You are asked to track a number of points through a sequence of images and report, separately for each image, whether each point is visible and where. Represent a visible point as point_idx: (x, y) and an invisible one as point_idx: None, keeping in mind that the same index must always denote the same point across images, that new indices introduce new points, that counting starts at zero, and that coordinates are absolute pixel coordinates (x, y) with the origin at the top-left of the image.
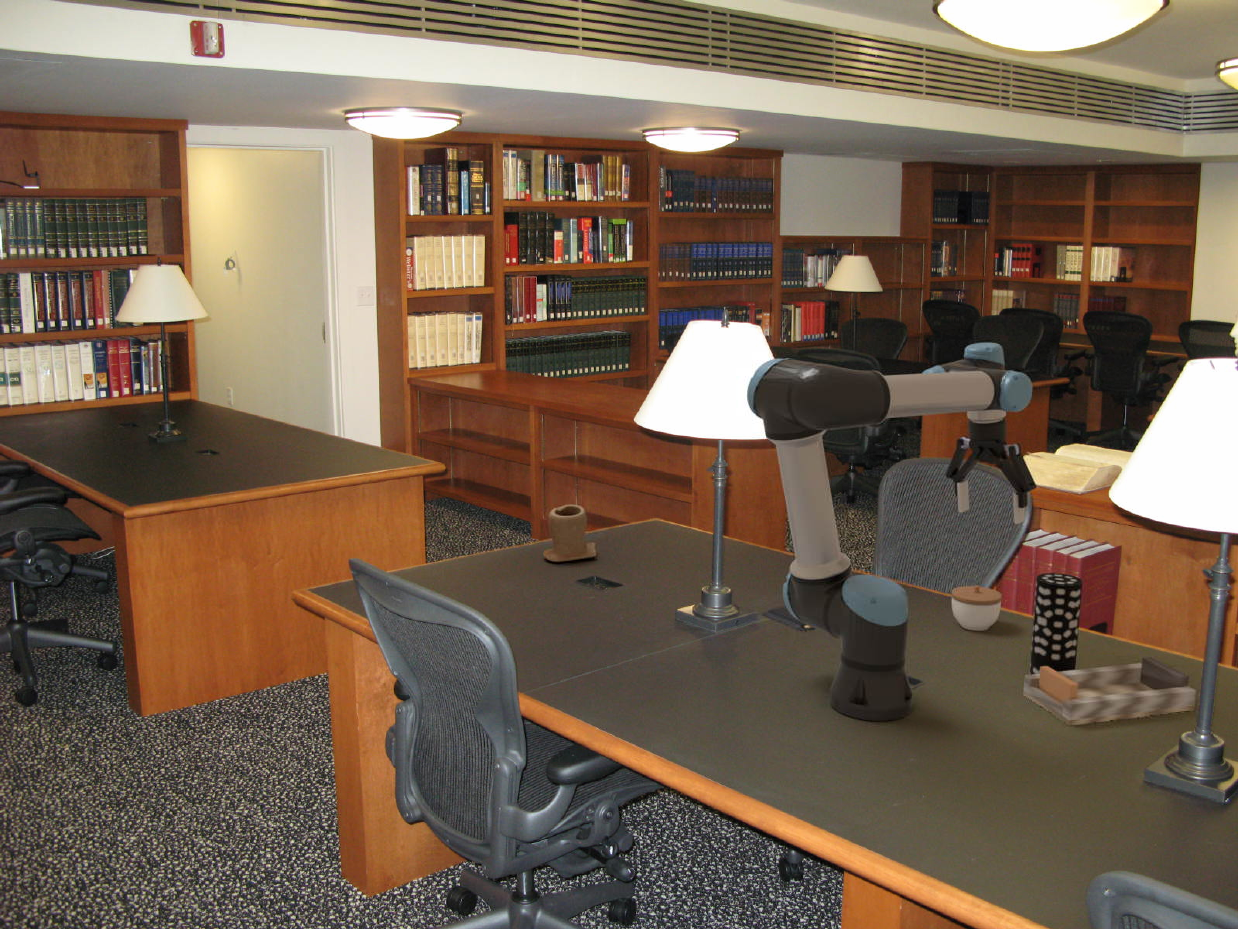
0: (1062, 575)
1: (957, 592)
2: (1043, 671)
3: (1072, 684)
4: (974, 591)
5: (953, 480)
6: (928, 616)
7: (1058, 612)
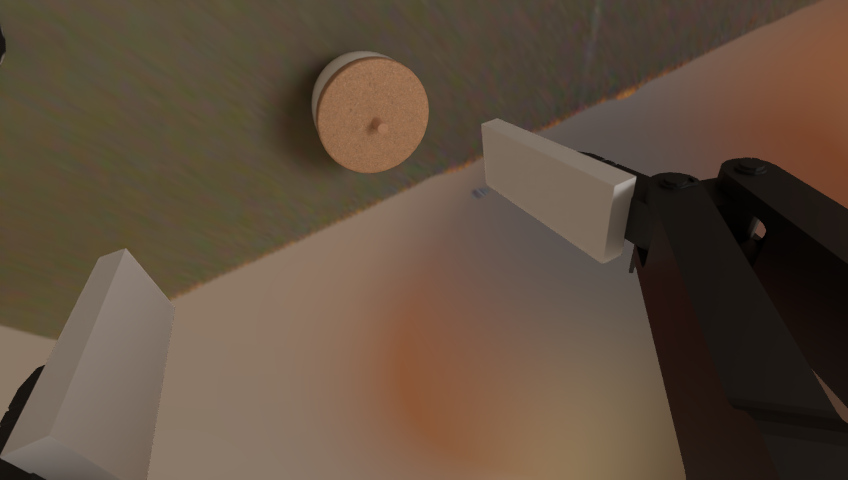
0: None
1: (398, 78)
2: None
3: None
4: (380, 118)
5: (678, 174)
6: (438, 41)
7: None
